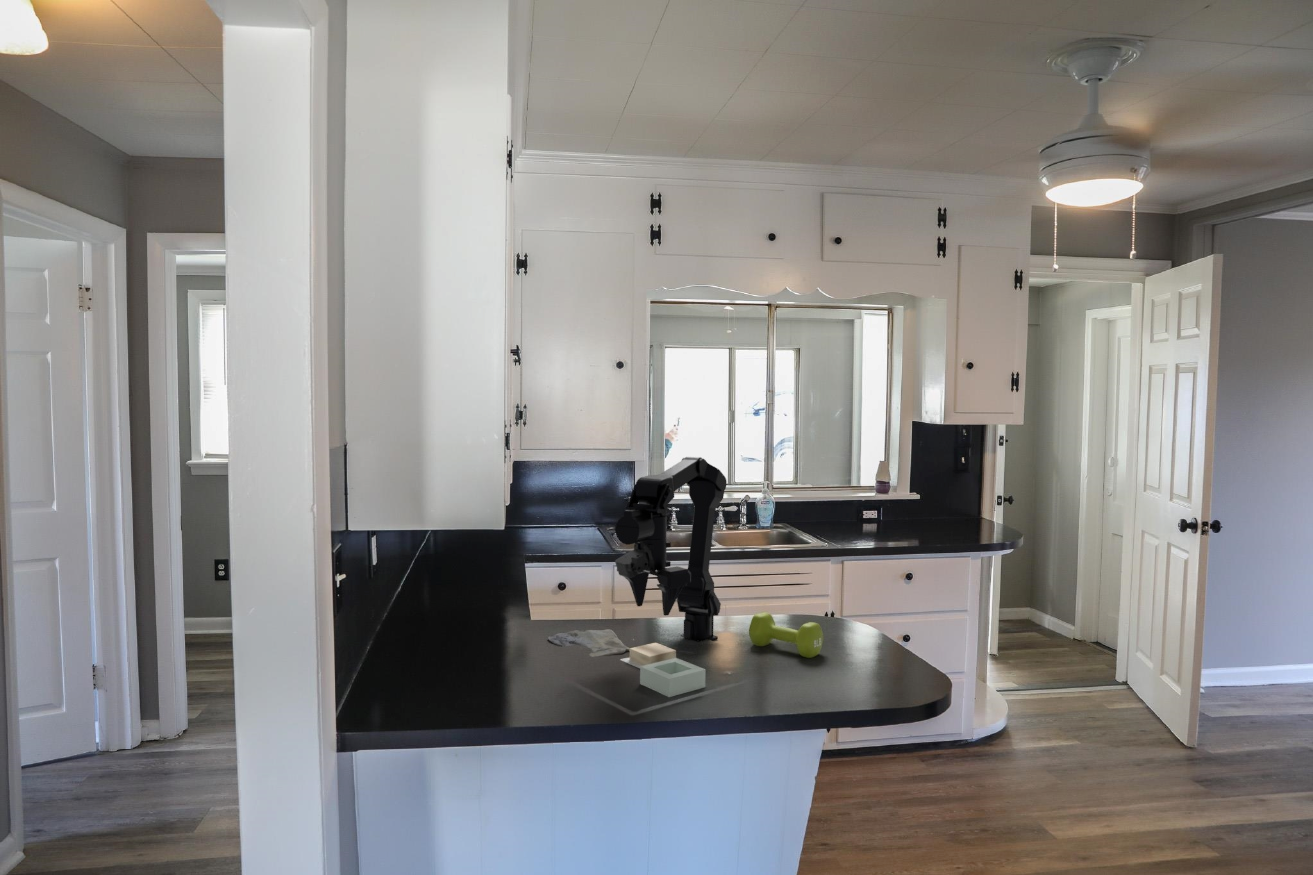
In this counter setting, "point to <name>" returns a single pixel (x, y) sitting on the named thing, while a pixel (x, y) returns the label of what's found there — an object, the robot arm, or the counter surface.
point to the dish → (672, 677)
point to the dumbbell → (786, 634)
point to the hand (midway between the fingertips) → (652, 610)
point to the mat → (631, 662)
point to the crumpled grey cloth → (592, 641)
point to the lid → (651, 654)
